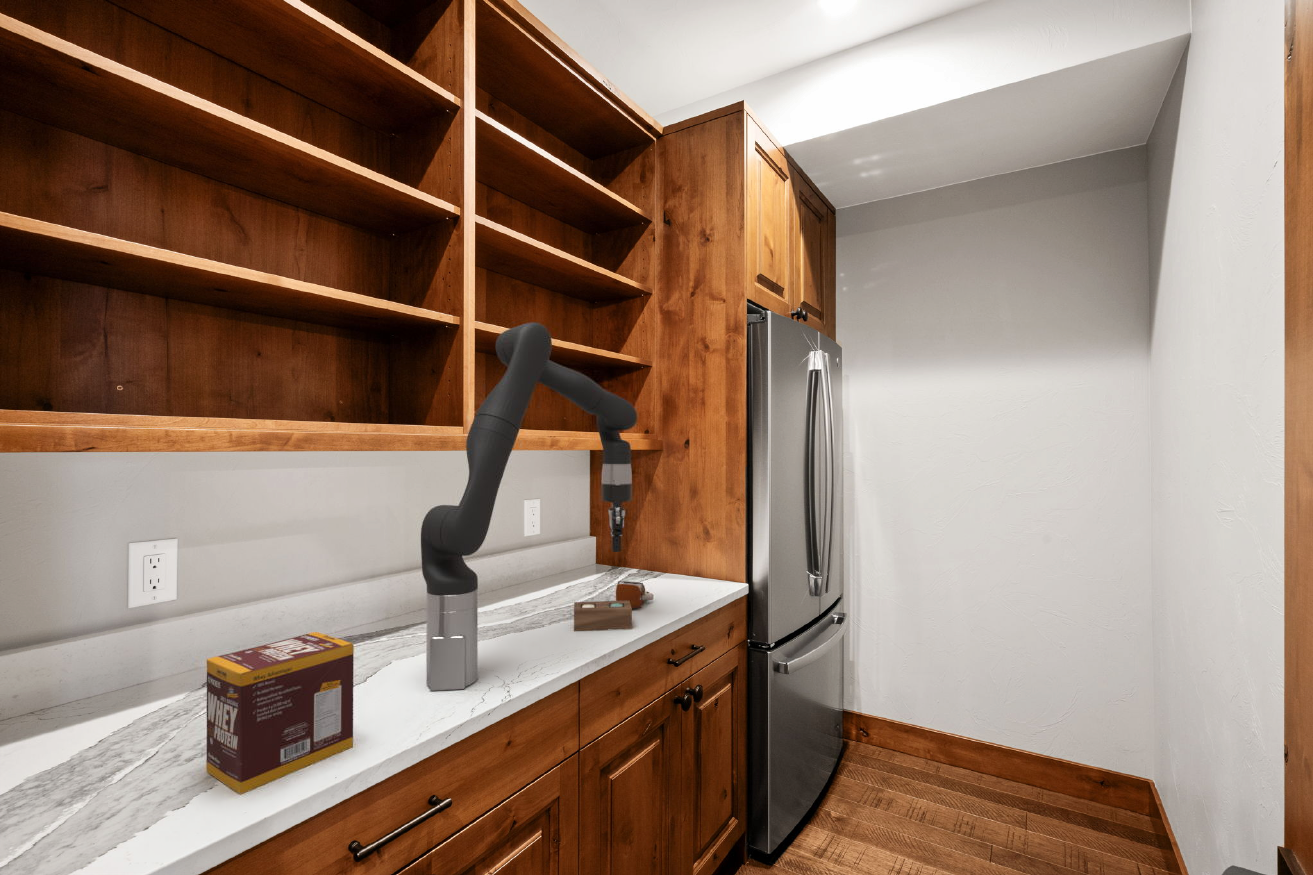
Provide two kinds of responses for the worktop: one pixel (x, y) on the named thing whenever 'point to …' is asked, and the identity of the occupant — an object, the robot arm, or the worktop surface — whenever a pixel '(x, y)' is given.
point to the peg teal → (616, 605)
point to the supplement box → (278, 709)
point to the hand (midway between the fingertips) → (616, 551)
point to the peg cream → (588, 606)
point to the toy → (632, 593)
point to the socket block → (602, 616)
